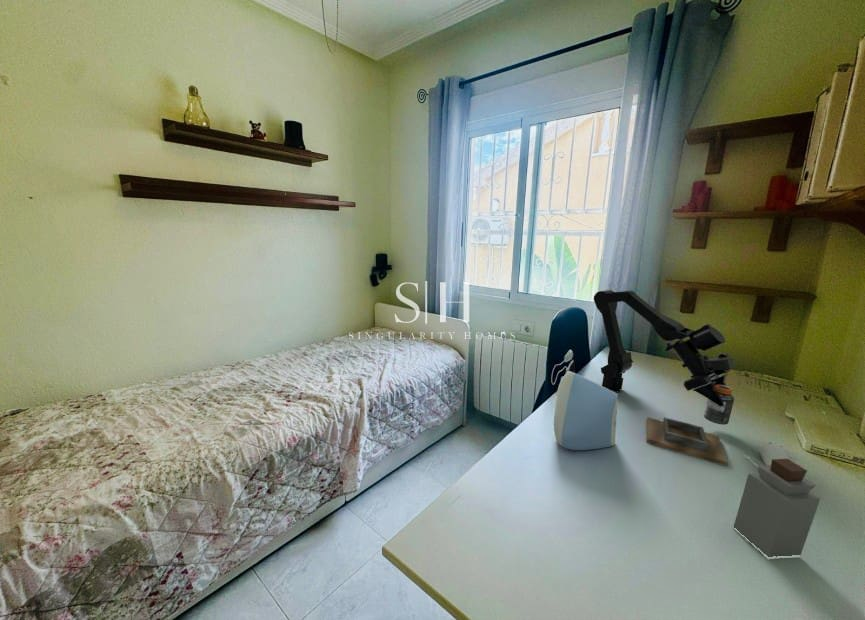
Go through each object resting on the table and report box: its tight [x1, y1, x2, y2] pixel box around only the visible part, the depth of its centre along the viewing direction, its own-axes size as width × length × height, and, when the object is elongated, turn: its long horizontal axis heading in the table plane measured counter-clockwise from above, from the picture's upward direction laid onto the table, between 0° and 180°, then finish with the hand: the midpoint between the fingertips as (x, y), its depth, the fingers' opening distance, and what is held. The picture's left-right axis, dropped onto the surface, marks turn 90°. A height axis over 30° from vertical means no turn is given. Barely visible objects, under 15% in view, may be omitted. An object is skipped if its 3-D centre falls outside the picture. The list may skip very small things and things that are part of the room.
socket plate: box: [645, 416, 728, 467], centre depth 97 cm, size 18×14×4 cm
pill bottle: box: [703, 385, 735, 426], centre depth 102 cm, size 6×6×11 cm
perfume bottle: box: [733, 459, 821, 557], centre depth 63 cm, size 7×7×18 cm
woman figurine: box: [744, 442, 808, 480], centre depth 86 cm, size 12×4×18 cm
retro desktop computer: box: [550, 349, 619, 451], centre depth 96 cm, size 25×23×17 cm
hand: (726, 402), depth 100 cm, fingers closed on pill bottle, 6 cm apart
